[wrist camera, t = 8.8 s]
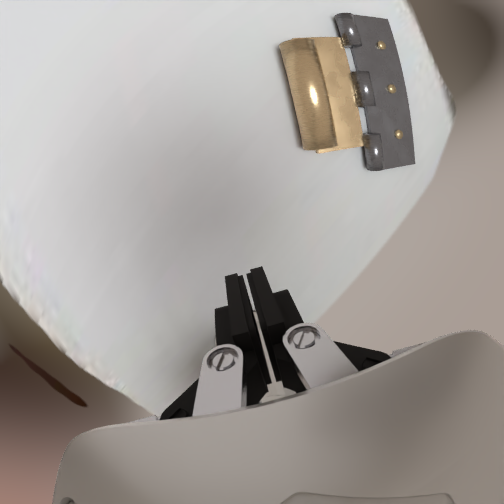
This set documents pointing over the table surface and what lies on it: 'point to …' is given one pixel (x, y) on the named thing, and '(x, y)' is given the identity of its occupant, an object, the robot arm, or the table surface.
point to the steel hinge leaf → (379, 90)
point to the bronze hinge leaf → (322, 93)
